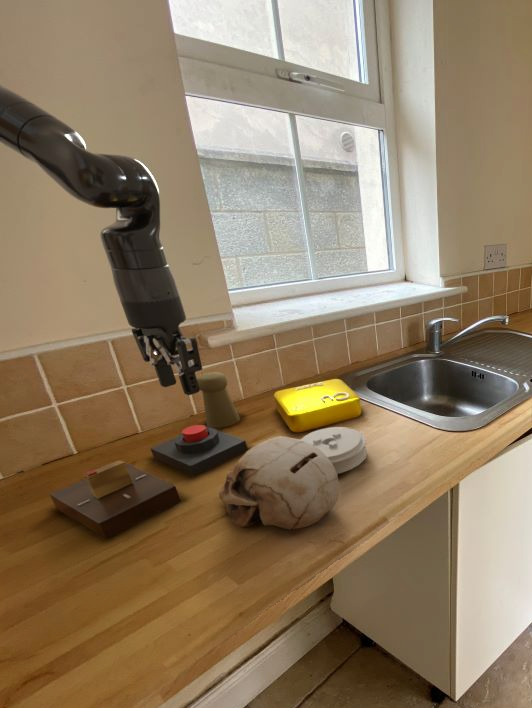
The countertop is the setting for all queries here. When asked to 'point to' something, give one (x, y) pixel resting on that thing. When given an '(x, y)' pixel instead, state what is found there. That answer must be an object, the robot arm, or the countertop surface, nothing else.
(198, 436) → the bell button
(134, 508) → the plate
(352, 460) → the lid
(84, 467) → the countertop surface
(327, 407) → the element tile
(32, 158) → the robot arm
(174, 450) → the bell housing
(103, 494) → the lock knob
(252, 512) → the coin bank
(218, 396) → the cork
